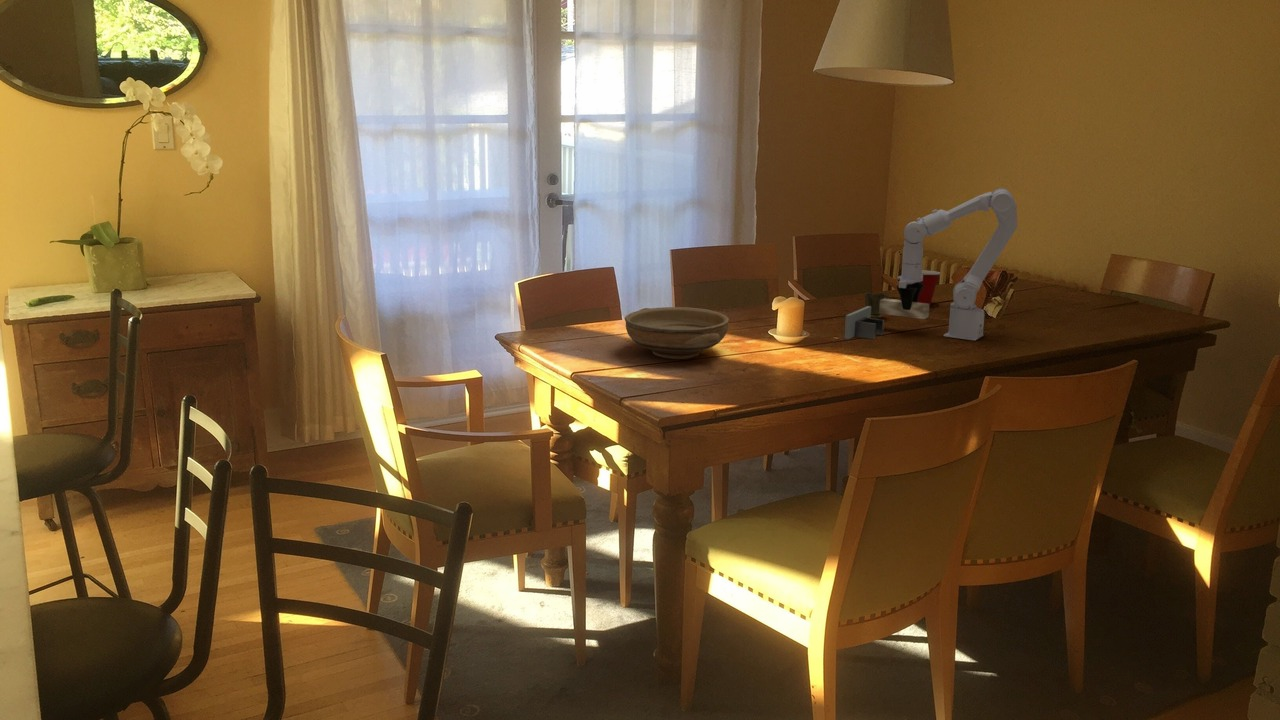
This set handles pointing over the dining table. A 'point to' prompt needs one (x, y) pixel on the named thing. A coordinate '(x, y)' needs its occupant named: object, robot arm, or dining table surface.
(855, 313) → the backboard
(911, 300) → the robot arm
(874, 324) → the bracket
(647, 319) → the ceramic bowl
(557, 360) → the dining table surface
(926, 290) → the plastic cup
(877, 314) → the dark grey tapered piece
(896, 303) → the rail
